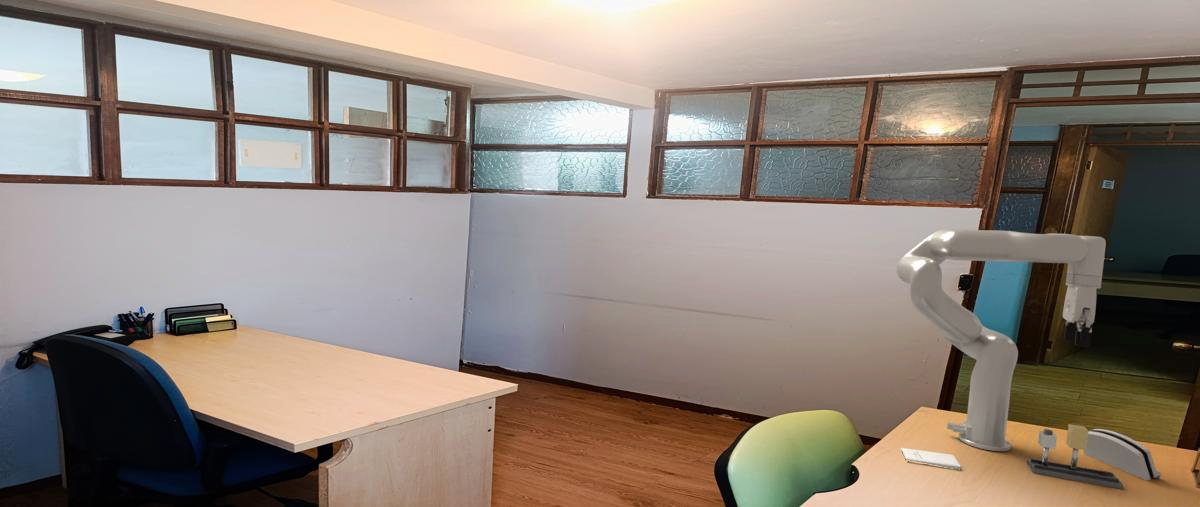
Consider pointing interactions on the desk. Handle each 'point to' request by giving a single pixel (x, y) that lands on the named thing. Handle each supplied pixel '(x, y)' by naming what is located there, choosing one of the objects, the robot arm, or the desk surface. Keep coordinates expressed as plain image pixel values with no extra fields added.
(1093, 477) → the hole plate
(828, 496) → the desk surface
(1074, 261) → the robot arm
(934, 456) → the external hard drive
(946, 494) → the desk surface
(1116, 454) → the white black arched block
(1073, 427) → the tan square-headed peg
